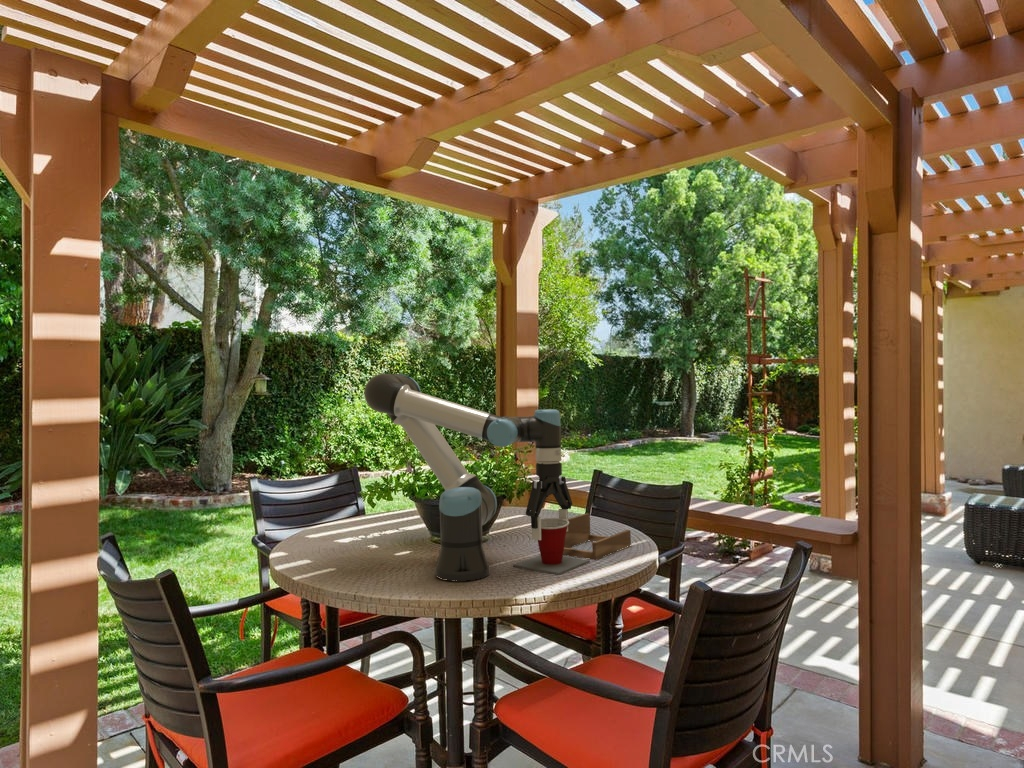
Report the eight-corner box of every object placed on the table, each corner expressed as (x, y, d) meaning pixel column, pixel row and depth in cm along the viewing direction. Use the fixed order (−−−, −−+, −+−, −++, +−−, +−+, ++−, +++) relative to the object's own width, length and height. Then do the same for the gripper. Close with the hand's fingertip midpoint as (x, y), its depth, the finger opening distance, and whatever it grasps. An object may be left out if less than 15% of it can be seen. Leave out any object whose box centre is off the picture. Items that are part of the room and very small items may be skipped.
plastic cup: (530, 567, 186) (529, 524, 186) (535, 557, 197) (534, 517, 197) (568, 567, 184) (567, 525, 184) (572, 558, 195) (570, 517, 195)
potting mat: (513, 566, 189) (513, 564, 189) (545, 555, 201) (545, 553, 201) (558, 575, 179) (558, 572, 179) (589, 562, 192) (589, 560, 192)
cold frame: (551, 552, 204) (550, 524, 204) (587, 539, 221) (586, 513, 221) (596, 560, 194) (595, 529, 194) (630, 545, 211) (630, 517, 211)
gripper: (533, 467, 179) (535, 545, 178) (582, 458, 198) (584, 529, 198) (512, 465, 183) (513, 541, 183) (562, 457, 203) (563, 526, 202)
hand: (550, 535), depth 190 cm, fingers open, 13 cm apart
